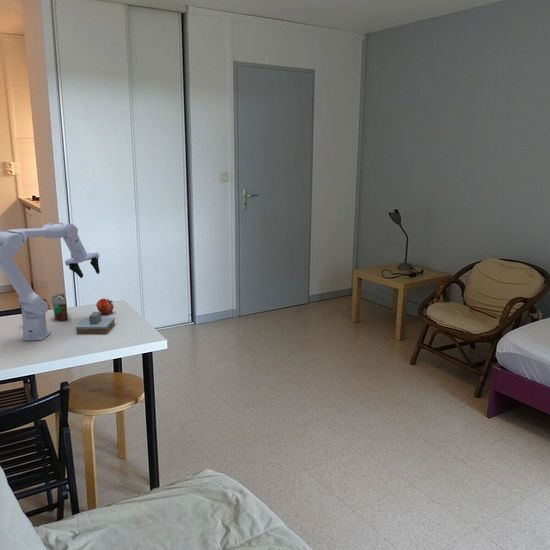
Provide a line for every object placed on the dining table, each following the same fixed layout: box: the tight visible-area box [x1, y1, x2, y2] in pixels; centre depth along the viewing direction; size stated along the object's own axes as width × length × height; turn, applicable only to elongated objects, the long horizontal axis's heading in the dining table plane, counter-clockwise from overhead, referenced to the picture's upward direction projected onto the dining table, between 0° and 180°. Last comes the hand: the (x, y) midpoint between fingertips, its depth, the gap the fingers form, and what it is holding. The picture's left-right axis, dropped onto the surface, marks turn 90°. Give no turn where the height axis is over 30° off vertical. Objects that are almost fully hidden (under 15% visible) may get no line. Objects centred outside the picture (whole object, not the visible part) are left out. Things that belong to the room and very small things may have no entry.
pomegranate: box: [95, 298, 115, 315], centre depth 241 cm, size 7×7×10 cm
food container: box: [50, 292, 69, 322], centre depth 234 cm, size 12×6×10 cm, turn 25°
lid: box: [75, 311, 116, 329], centre depth 220 cm, size 12×12×5 cm
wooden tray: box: [75, 320, 116, 335], centre depth 221 cm, size 12×12×2 cm
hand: (90, 274), depth 230 cm, fingers open, 7 cm apart
